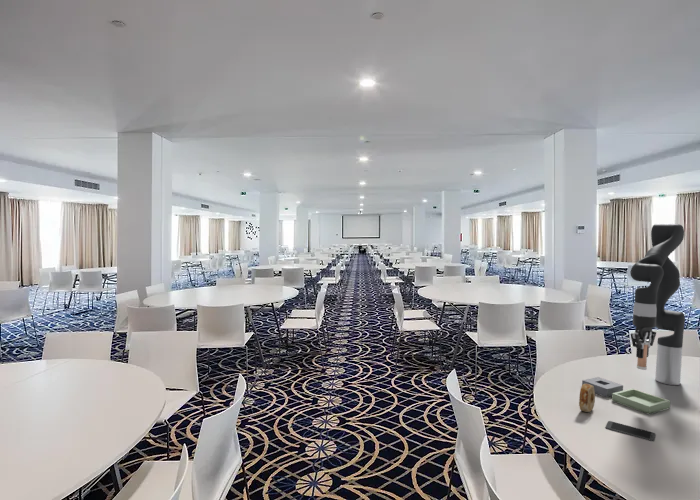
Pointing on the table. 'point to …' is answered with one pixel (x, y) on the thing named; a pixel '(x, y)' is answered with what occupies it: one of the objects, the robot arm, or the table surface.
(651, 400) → the parts tray
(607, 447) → the table surface
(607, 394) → the grey flat square piece
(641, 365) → the peg
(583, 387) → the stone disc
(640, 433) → the cell phone
